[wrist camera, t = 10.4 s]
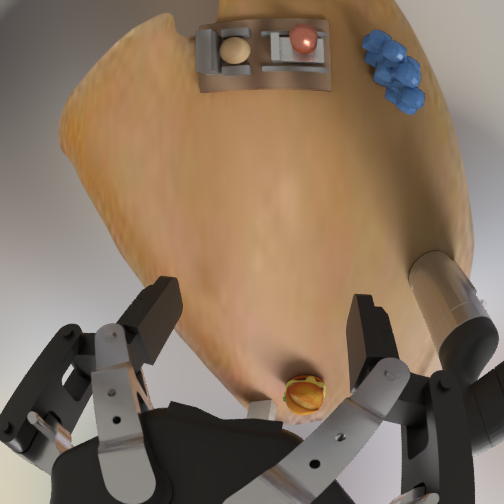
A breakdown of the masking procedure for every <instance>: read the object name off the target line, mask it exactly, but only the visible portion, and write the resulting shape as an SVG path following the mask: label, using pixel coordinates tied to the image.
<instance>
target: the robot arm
mask: <svg viewBox="0 0 504 504" xmlns="http://www.w3.org/2000/svg"><path fill="white" fill-rule="evenodd" d="M409 284H410V287H411V289H412V291H413V293H414V295H415V298H416V300H417V302H418V305H419V307H420V309H421V312H422V314H423V317H424V319H425V322H426V324H427V327H428V329H429V332H430V334H431V337H432V340H433V342H434V345H435V348H436V351H437V353H438V356H439V359H440V362H441V365H442V369H443V370H439V371H436V372H434V373H433V374H432V375H431V377H430V378H429V377H425V376H421V375H417V374H414V373H411V372H410V370H409V368H408V366H407V365H406V364H405V363H404V362H403V361H401V360H400V359H399V355H398V351H397V347H396V343H395V339H394V335H393V333H392V327H391V325H390V320H389V317H388V314H387V313H386V312H385V311H384V309H383V308H382V307H375V306H374V302H373V298H372V296H371V295H366V294H354V296H353V300H352V304H351V308H350V312H349V316H348V320H347V327H346V336H347V347H348V360H349V375H350V393H353V394H352V395H351V396H350V397H349V398H346V399H345V400H343V401H342V403H341V404H340V405H339V406H338V407H337V408H336V409H335V410H334V411H333V412H332V413H331V414H330V415H329V416H328V417H327V418H326V419H325V421H324V422H323V423H322V424H321V425H320V426H319V427H318V428H317V429H316V430H314V431H313V432H312V433H311V434H310V436H308V437H307V438H306V439H305V440H303V439H302V438H301V437H299V436H298V435H296V434H294V433H292V432H290V431H288V430H285V429H282V425H283V422H282V421H272V420H264V419H256V418H249V419H231V420H230V419H229V420H223V419H220V418H218V417H215V416H213V415H211V414H209V413H207V412H205V411H203V410H201V409H199V408H196V407H192V406H189V405H185V404H180V403H177V402H173V401H171V403H170V404H169V407H168V408H157V409H154V408H153V405H152V403H151V400H150V396H149V393H148V390H147V386H146V382H145V378H144V374H143V370H142V368H141V367H142V365H143V364H144V363H146V364H150V365H153V364H154V362H155V361H156V359H157V357H158V355H159V353H160V351H161V350H162V348H163V346H164V344H165V342H166V341H167V339H168V337H169V335H170V334H171V332H172V330H173V329H174V327H175V325H176V323H177V321H178V320H179V318H180V316H181V314H182V310H183V303H182V298H181V293H180V289H179V284H178V280H177V278H175V277H167V276H160V277H159V278H158V279H157V281H156V282H155V283H154V284H153V285H149V286H148V287H146V288H145V289H143V290H142V291H141V292H140V293H139V295H138V296H137V297H136V299H135V300H134V301H133V302H132V304H131V305H130V306H129V307H128V308H127V310H126V311H125V312H124V314H123V315H122V316H121V317H120V319H119V320H118V322H117V323H116V324H114V323H111V324H107V325H104V326H102V327H101V328H100V329H99V330H98V331H97V332H96V333H83V332H82V330H81V328H80V327H79V325H77V324H68V325H66V326H63V327H62V328H61V329H60V330H59V331H58V332H57V333H56V334H55V336H54V337H53V338H52V340H51V341H50V342H49V343H48V345H47V346H46V348H45V349H44V350H43V352H42V353H41V354H40V356H39V357H38V358H37V360H36V361H35V362H34V364H33V365H32V367H31V368H30V370H29V371H28V372H27V374H26V375H25V377H24V378H23V380H22V381H21V383H20V384H19V386H18V387H17V389H16V390H15V392H14V393H13V395H12V397H11V398H10V400H9V401H8V403H7V405H6V406H5V408H4V409H3V411H2V413H1V414H0V441H2V442H3V443H4V444H6V445H7V446H8V447H9V448H11V449H12V451H14V452H15V453H16V454H18V455H19V456H20V457H22V458H23V459H25V460H26V461H28V462H29V463H31V464H34V465H35V466H37V467H38V468H40V469H41V470H43V471H45V472H46V473H48V474H49V475H51V482H52V491H51V500H50V504H355V503H354V501H353V500H352V499H351V498H350V496H349V495H348V494H347V493H346V492H345V491H344V489H343V488H342V487H341V485H340V484H339V483H338V482H337V480H336V477H337V476H338V475H339V474H340V473H341V472H342V471H343V470H344V469H345V468H346V467H347V466H348V464H349V463H350V462H351V461H352V460H353V458H354V457H355V456H356V455H357V454H358V453H359V451H360V450H361V449H362V448H363V447H364V445H365V444H366V443H367V442H368V440H369V439H370V437H371V436H372V435H373V434H374V432H375V431H376V430H377V428H378V427H379V426H380V424H381V423H382V421H383V420H385V421H389V422H393V423H397V424H401V433H402V434H401V437H402V480H401V495H400V496H398V497H396V498H395V499H393V500H392V501H391V502H390V504H475V482H474V467H473V457H474V456H477V455H479V454H481V453H483V452H485V451H487V450H489V449H491V448H492V447H494V446H496V445H497V444H499V443H500V442H502V441H503V440H504V361H503V362H501V363H500V364H499V365H497V366H496V367H495V369H492V370H491V371H490V372H488V373H487V374H485V375H484V376H483V377H481V378H480V379H479V380H477V379H478V377H479V375H480V373H481V371H482V370H483V368H484V367H485V366H486V364H487V363H488V362H489V360H490V359H491V357H492V356H493V354H494V353H495V351H496V348H497V346H498V341H499V336H498V331H497V329H496V327H495V325H494V324H493V322H492V320H491V319H490V317H489V315H488V313H487V312H486V310H485V309H484V307H483V305H482V304H481V302H480V301H479V299H478V298H477V296H476V289H475V287H474V286H473V285H472V283H471V282H470V280H469V279H468V277H467V276H466V275H465V273H464V272H463V271H462V269H461V268H460V267H459V265H458V264H457V263H456V261H455V260H451V259H450V258H449V257H448V255H447V254H445V253H443V252H441V251H432V252H429V253H426V254H424V255H423V256H421V257H420V258H419V259H418V260H417V261H416V262H415V263H414V265H413V266H412V268H411V271H410V274H409ZM70 364H72V366H73V367H74V370H73V371H72V373H71V375H70V376H69V377H68V379H67V381H66V382H65V384H64V385H63V386H62V377H63V375H64V373H65V372H66V370H67V369H68V367H69V366H70ZM92 393H93V401H94V410H95V417H96V424H97V430H98V436H96V437H94V438H92V439H90V440H88V441H86V442H84V443H81V444H79V445H77V446H75V447H73V445H72V444H71V433H72V431H73V429H74V427H75V425H76V423H77V421H78V419H79V417H80V416H81V414H82V412H83V410H84V408H85V406H86V404H87V402H88V401H89V398H90V397H91V395H92Z"/></svg>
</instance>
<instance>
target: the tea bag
mask: <svg viewBox="0 0 504 504" xmlns="http://www.w3.org/2000/svg"><path fill="white" fill-rule="evenodd" d="M276 411H277V405H276V403H275V402H274V401H273V400H272V399H271V400H263V401H254V402H250V406H249V410H248V415H247V418H246V419H249V418H256V419H264V420H272V421H275V417H276Z"/></svg>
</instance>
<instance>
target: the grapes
mask: <svg viewBox="0 0 504 504" xmlns="http://www.w3.org/2000/svg"><path fill="white" fill-rule="evenodd" d="M362 47H363V48H364V49H366V50H367V52H366V54H365V62H366V63H368V64H370V65H371V66H373V67H375V68H376V71H375V73H374V79H373V80H374V81H375V82H376V83H378V84H380V85H381V86H383V87H387V89H386V93H385V98H386V99H387V100H388V101H390V102H392V103H393V104H396V107H397V108H398V109H399V110H401V111H402V112H404V113H406V114H409V115H413V114H415V113H416V111H417V109H420V108H422V106H423V105H424V99H425V93H424V92H423V91H422V90H420V89H419V88H417V87H418V85H419V83H420V80H421V72H420V64H419V63H418V62H417V61H416V60H415V59H413V58H411V57H410V56H407V49H406V48H405V47H404V46H403V45H401V44H400V43H398V42H397V41H395V40H392V37H390V36H389V35H388V34H386V33H385V32H383V31H381V30H373V31H371V32H370V34H368V35H366V36H364V38H363V42H362Z"/></svg>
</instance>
